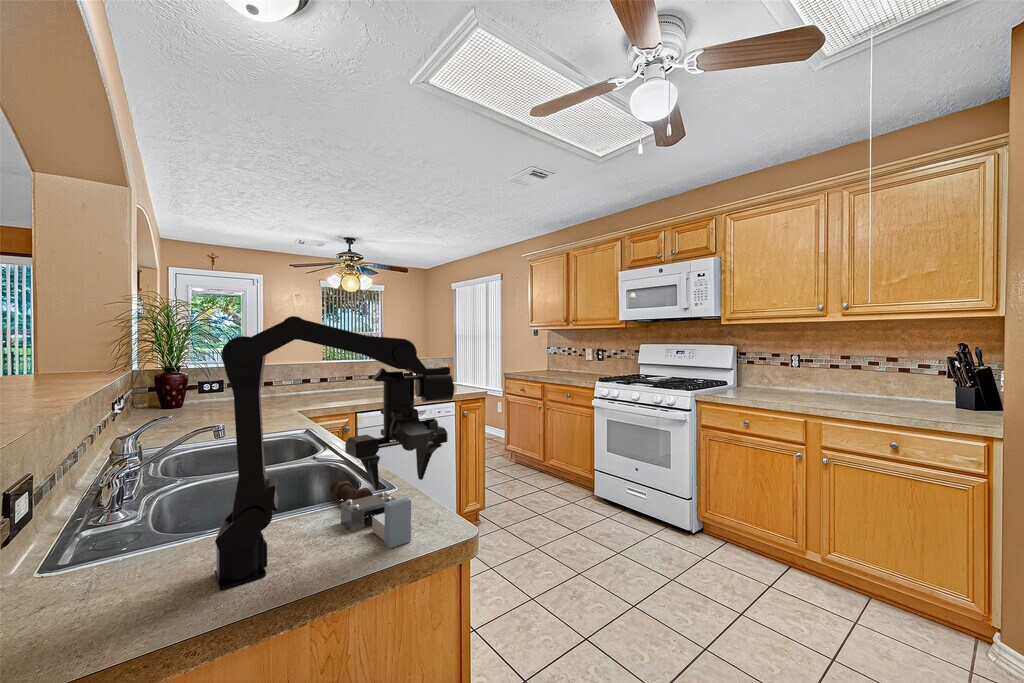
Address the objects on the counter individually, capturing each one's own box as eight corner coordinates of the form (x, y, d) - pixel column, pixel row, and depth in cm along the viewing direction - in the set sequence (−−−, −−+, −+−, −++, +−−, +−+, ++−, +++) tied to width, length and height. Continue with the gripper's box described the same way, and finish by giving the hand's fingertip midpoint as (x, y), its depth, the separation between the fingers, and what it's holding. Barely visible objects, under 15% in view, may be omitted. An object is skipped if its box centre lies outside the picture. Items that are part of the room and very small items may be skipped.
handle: (389, 548, 81) (389, 506, 81) (369, 532, 88) (370, 492, 88) (410, 541, 84) (411, 500, 84) (390, 526, 91) (390, 488, 91)
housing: (351, 532, 88) (351, 508, 88) (340, 522, 93) (340, 500, 93) (397, 518, 95) (397, 497, 95) (385, 510, 99) (385, 489, 99)
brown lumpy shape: (338, 501, 109) (366, 517, 99) (321, 496, 106) (347, 511, 96) (349, 478, 112) (378, 491, 101) (332, 472, 108) (360, 485, 98)
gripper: (368, 415, 71) (369, 510, 71) (463, 403, 83) (463, 484, 83) (344, 406, 79) (344, 491, 80) (433, 397, 92) (433, 470, 92)
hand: (399, 484), depth 83 cm, fingers open, 9 cm apart
